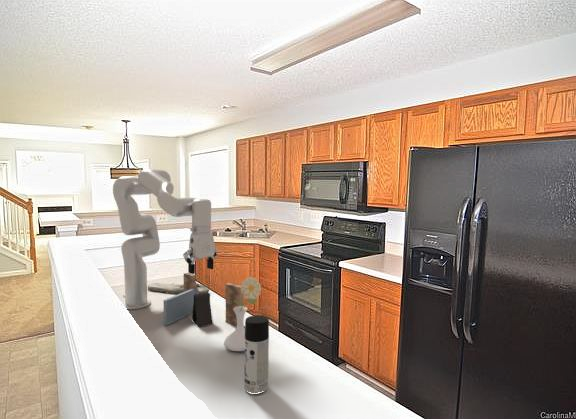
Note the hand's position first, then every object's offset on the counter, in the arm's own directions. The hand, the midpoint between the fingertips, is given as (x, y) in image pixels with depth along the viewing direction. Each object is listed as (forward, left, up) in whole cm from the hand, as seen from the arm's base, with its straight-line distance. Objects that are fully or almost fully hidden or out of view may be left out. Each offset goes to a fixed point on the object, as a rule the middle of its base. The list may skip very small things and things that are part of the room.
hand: (201, 270), depth 141 cm
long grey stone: (-41, +20, -22) cm, 51 cm away
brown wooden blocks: (-2, +7, -22) cm, 23 cm away
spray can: (+48, -22, -22) cm, 57 cm away
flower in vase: (+28, -6, -22) cm, 36 cm away
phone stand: (0, 0, -22) cm, 22 cm away
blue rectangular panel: (-10, -2, -21) cm, 23 cm away
